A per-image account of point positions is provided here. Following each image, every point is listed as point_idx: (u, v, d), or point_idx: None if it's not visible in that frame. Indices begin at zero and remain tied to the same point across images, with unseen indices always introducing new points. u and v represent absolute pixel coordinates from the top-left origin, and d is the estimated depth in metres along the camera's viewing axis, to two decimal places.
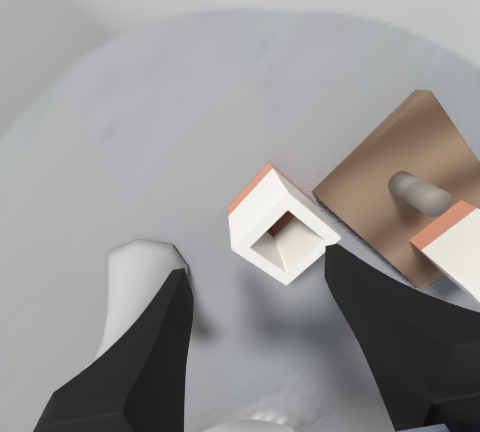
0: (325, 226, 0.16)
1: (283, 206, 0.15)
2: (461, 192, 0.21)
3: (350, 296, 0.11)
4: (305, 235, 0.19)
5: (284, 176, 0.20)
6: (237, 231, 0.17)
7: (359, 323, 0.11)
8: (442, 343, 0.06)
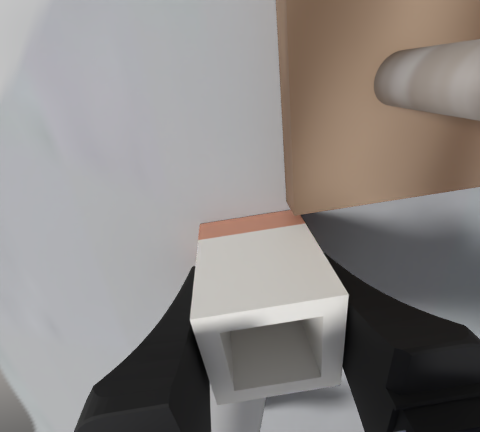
0: (300, 304, 0.08)
1: (209, 334, 0.09)
2: None
3: None
4: None
5: (229, 225, 0.13)
6: None
7: None
8: (399, 350, 0.06)
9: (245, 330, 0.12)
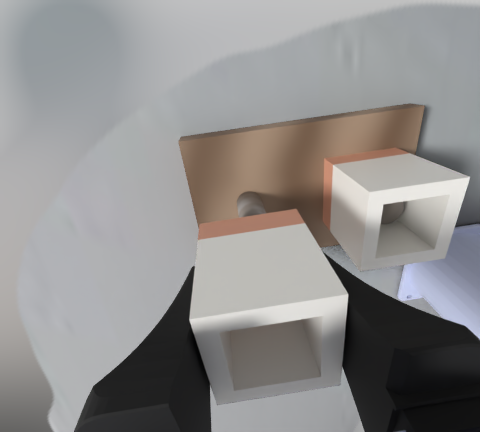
0: (300, 304, 0.08)
1: (208, 333, 0.09)
2: (316, 154, 0.18)
3: None
4: None
5: (229, 225, 0.13)
6: None
7: None
8: (399, 350, 0.06)
9: (245, 330, 0.12)
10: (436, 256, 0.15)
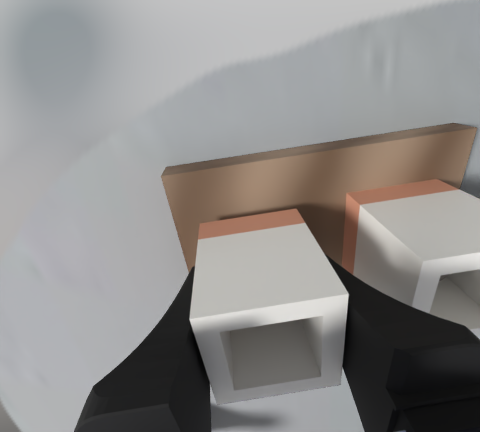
0: (300, 303, 0.08)
1: (208, 333, 0.09)
2: (336, 188, 0.14)
3: None
4: None
5: (229, 224, 0.13)
6: None
7: None
8: (399, 350, 0.06)
9: (245, 330, 0.12)
10: None
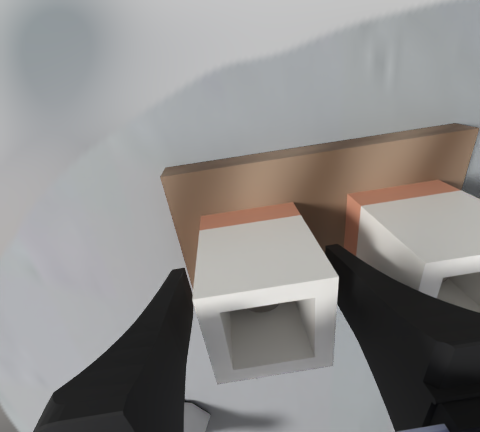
0: (294, 286, 0.09)
1: (210, 313, 0.09)
2: (337, 189, 0.14)
3: (350, 296, 0.11)
4: None
5: (229, 217, 0.14)
6: None
7: (359, 323, 0.11)
8: (442, 343, 0.06)
9: (243, 316, 0.13)
10: None
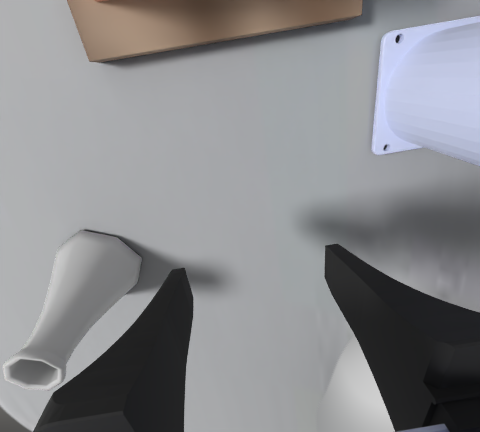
0: None
1: None
2: None
3: (350, 296, 0.11)
4: None
5: None
6: None
7: (359, 323, 0.11)
8: (442, 343, 0.06)
9: None
10: None
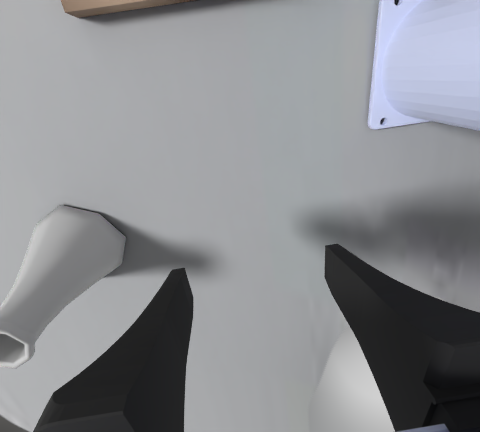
0: None
1: None
2: None
3: (350, 296, 0.11)
4: None
5: None
6: None
7: (359, 323, 0.11)
8: (442, 343, 0.06)
9: None
10: None
